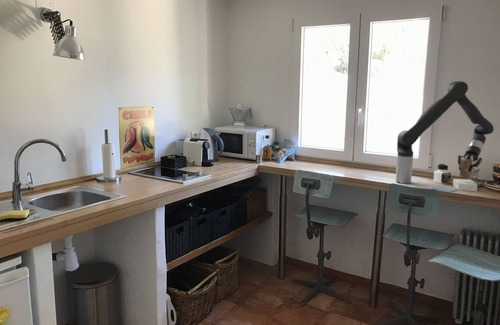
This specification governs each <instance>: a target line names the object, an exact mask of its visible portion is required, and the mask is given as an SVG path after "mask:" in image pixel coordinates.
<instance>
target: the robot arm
mask: <svg viewBox="0 0 500 325" xmlns="http://www.w3.org/2000/svg"><path fill="white" fill-rule="evenodd" d="M468 90H469V85H468V84H467V82H465V81H462V80H461V81H459V80H458V81H456V80H455V81H452V82H450V83H449V84H448V86H447V93H446V94H445V95H444V96H443V97H441V98H440V99H437V101H435V102H433V103H432V104H431V105H429V106H428V107H427V108H426V109H425V110H424V111H423V112H422V113H421V114H420V116H419V118H418V119H417V121H416V123H415V124H414V125H413V126H412V127H410V128H409V129H408V130H402V131H400V132H399V133H398V135H397V139H396V140H397V143H396V151H397V158H396V159H397V160H396V161H397V162H396V168H395V170H396V171H395V182H396V183H398V182H400V184H411V183H412V177H413V176H412V175H413V163H414V162H413V161H414V160H413V159H414V151H413V145H414V144H415V143H416V141H417V140H418V139H419V138H420V137H421V136H422V134H423V133H424V132H426V131H427V130H428V129H429V128H430V127H431V126H433V124H434V123H436V121H438V119H439V118H440V117H442V116H443V115H444V114H445V113H446V112H447V111H448V110H449V109H450V107H452V105H454V104H455V103H457V104H458V105H459V106H460V108H461V109H462V111H464V113H465V114H466V116H467V118H468V119H469V121H470V122H471V123H472V124H474V125H476V126H475V127H474V129H473V137H472V139H471V142H470V143H469V144H468V145H467V148H466V150H465V153H464V154H463V155H461V154H459V155H458V156H457V163H458V169H459V171H460V169H461V160H462V159H468V160H472V162H471V165H470V167H469V169H468V172H470V171H471V172H472V171H473V168H478V167H479V165H481V163H483V158H482V157H480V155H481V152H482V151H483V148H484V145H485V142H487V141H486V140H487V137H486V136H485V135H490V134H493V132H494V125H493V124H492V123H491V122H490V121H489V120H488V119H487V118H485V117H484V115H483V114H482V112H481V111H480V110H479V108H478V106H476V105H475V104H474V103H473V102H472V100H470V99H469V98H468V97H467V96H466V93H467V92H468Z"/></svg>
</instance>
